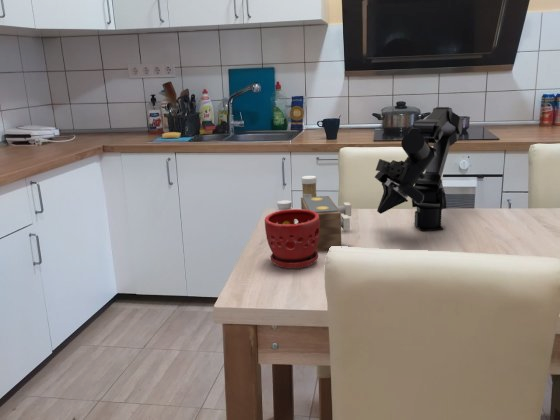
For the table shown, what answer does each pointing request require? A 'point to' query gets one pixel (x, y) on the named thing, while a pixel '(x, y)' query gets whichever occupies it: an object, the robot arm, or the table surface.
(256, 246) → the table surface
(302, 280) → the table surface
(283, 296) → the table surface
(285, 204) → the supplement bottle
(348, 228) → the button
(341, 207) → the button
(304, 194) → the sprinkles bottle
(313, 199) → the card
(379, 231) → the table surface
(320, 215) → the button box
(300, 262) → the plant pot
